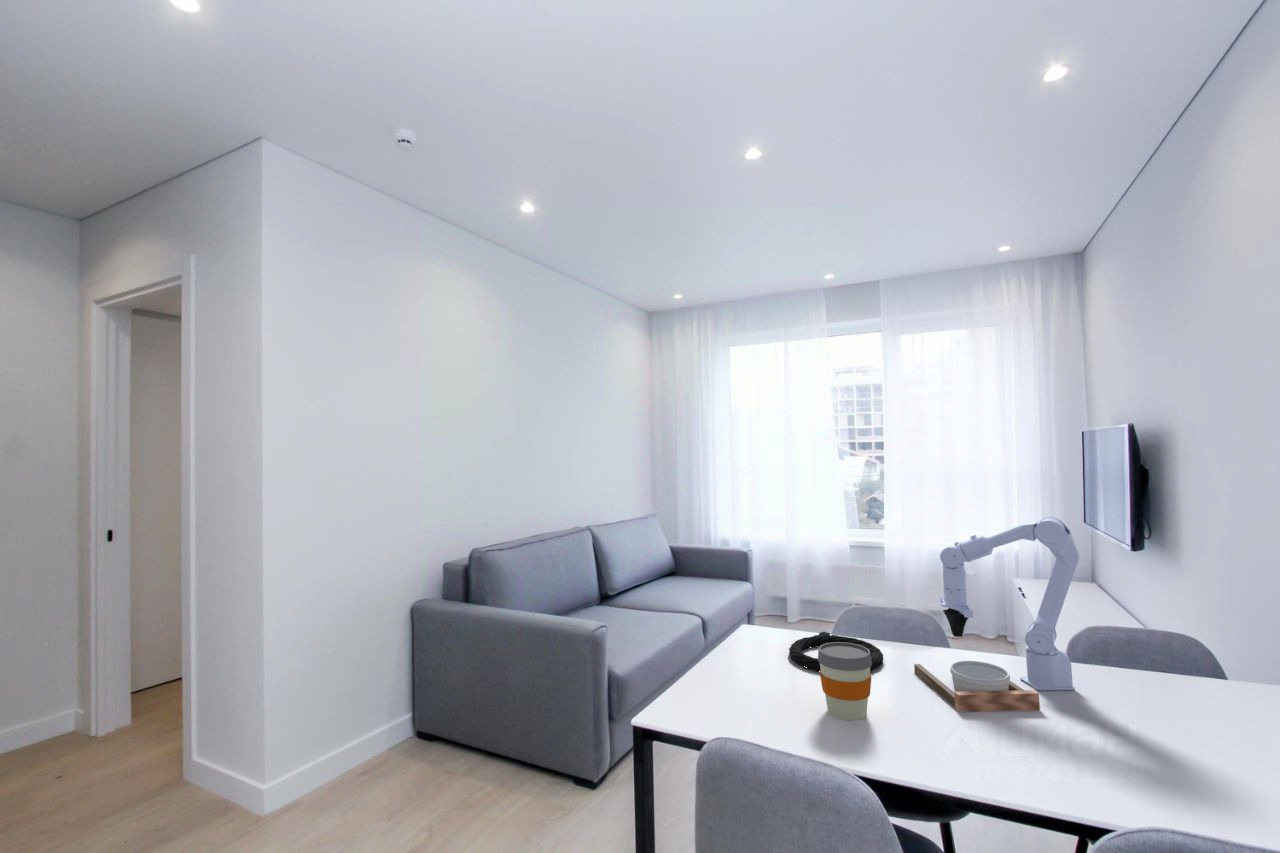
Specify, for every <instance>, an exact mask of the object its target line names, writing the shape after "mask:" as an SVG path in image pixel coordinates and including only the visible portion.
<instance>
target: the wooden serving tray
mask: <svg viewBox="0 0 1280 853" xmlns="http://www.w3.org/2000/svg"><path fill="white" fill-rule="evenodd" d="M913 665H914V666H913V667H914V674H915V675H916V676H917V677H919V678H920V679H921V680H922V681H923V682H924V683H925V684H927V685H928V687H930V688H931V689H932V690H934V691H935V692H936V693H937V694H938V695H939V696H940V697H942V698H943V699H944V700H945V701H946V702H947V703H949V704H950V705H951V706H952V707H953V708H954V709H956V710H957V711H958V712H959V713H966V712H967V713H969V712H970V713H972V712H974V713H975V712H976V713H977V712H1026V711H1028V712H1030V711H1033V712H1037V711H1041V707H1040V693H1038V692H1037V691H1035V690H1034V689H1029V690H1028V689H1027V690H1026V689H1023V688H1022V687H1020V686H1019V685H1017V684H1016V683H1014V682H1012V680H1010V681H1009V689H1008V691H964V692H955V691H954V690H952V689H951V688H950V687H948V686H947V685H946V684H945V683H944V682H942V681H941V680H940V679H938V677H937V676H935V675H934V674H933V673H931V672H930V671H929V670H928V669H927V668H925V667H924V666H923V665H922V664H920V663H914V664H913Z"/></svg>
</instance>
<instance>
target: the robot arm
mask: <svg viewBox="0 0 1280 853" xmlns="http://www.w3.org/2000/svg"><path fill="white" fill-rule="evenodd" d="M1036 539H1037V540H1038V541H1039V543H1041V544H1042V545H1044V546H1045V547H1047V548H1048V549H1049V551H1050V552H1051V553H1052V555H1053V556H1054V558H1055V562H1054V565H1053V568H1052V571H1051V574H1050V577H1049V580H1048V583H1047V586H1046V588H1045V591H1044V594H1043V597H1042V601H1041V603H1040V607H1039V610H1038V613H1037V615H1036V619H1035V620H1034V621H1032V623H1031V624H1029V626H1028V630H1027V632H1026V633H1025V636H1024V642H1025V644H1026V646H1025V662H1026V674H1027V676H1021V677H1019V679H1020V681H1023V682H1025V683H1026V684H1028V685H1029V686H1031V687H1032V688H1034V689H1036V690H1037V691H1071V690H1072V691H1073V690H1075V689H1076V688H1075V687H1074V686H1073V685H1074V684H1073V671H1072V662H1071V659H1070V657H1069V655H1068V654H1067V653H1066V652H1065V651H1064V650H1062V649H1058V648H1057V647H1056V645H1055V642H1056V640H1057V630H1056V626H1057V623H1058V620H1059V618H1060V614H1061V612H1062V609H1063V606H1064V602H1065V600H1066V598H1067V594H1068V592H1069V588H1070V586H1071V584H1072V580H1073V577H1074V573H1075V571H1076V569H1077V566H1078V563H1079V560H1080V552H1079V550H1078V548H1077V545H1076V544H1075V541H1074V537H1073V536H1072V532H1071V530H1070V529H1069V527H1068V526H1067V525H1066V524H1065V523H1064V522H1063V521H1062V520H1061V519H1059V518H1058V517H1053V516H1047V517H1044V518H1042V519H1041V520H1040V521H1039V519H1036V520H1032V521H1028V522H1024V523H1022V524H1019V525H1016V526H1014V527H1011V528H1009V529H1007V530H1003V531H1002V532H999V533H996V534H993V535H992V536H989V537H988V536H984V535H982V534H979V535H977V534H973V535H971V536H970V538H968V539H965V540H963V541H960V542H959V541H955V542H954V543H953V544H954V545H949V546H947V547H945V548H944V549H943V550H941V552H940V554H939V559H940V562H941V563H942V570H943V571H942V579H943V597H940V606H941V607H943V608H947V609H943V610H942V613H943V614H944V615H945V617H946V619H947V622H948V624H949V627H950V631H951V634H952V636H953V637H955V638H957V637H959V638H960V637H961V638H962V637H963V635H964V631H965V627H966V624H967V621H968V619H969V618H974V614H973V613H974V611H973V610H972V609H971V608H970V605H969V604H968V598H967V597H968V596H967V580H966V578H967V577H966V571H965V563H970V562H974V561H976V560H980V559H982V558H984V557H987V556H990V555H992V552H993V550H994V549H995V548H998V547H1001V546H1004V545H1008V544H1011V543H1014V542H1016V541H1021V540H1027V541H1031V542H1035V540H1036Z"/></svg>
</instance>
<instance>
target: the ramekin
mask: <svg viewBox="0 0 1280 853" xmlns="http://www.w3.org/2000/svg"><path fill="white" fill-rule="evenodd" d="M949 666H950V667H949V669H950V670H949V671H950V675H951V677H952V678H951V679H952V684H953V688H954V692H964V691H1008V689H1009V681H1011V676H1010V672H1009V671H1008V670H1007V669H1005V668H1004V667H1001V666H999V665H996V664H994V663H988V662H984V661H977V660H960V661H956V662H953V663H952V664H951V665H949Z"/></svg>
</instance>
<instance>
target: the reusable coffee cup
mask: <svg viewBox="0 0 1280 853" xmlns="http://www.w3.org/2000/svg"><path fill="white" fill-rule="evenodd" d="M817 655H818V656H817V659H818V661H819V663H820V667H821V669H820V672H819V677H820V682H821V689H822V691H823V693H824V694H825V695H824V696H825V701H826V702H825V703H826V708H827V713H828V714H829V715H830V716H832V717H834V718H836V719H839V720H843V721H853V722H854V721H860V720H863V719H865V718H866V717H867V714H868V713H867V712H868V702H869V701H868V700H869V697H870V695H871V685H872V674H871V672H870V667H871V666H872V661H871V655H870V650H869V649H867V648H866V647H864V646H861V645H858V644H853V643H846V642H831V643H826V644H823V645H821V646H819V647H818V652H817Z"/></svg>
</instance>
